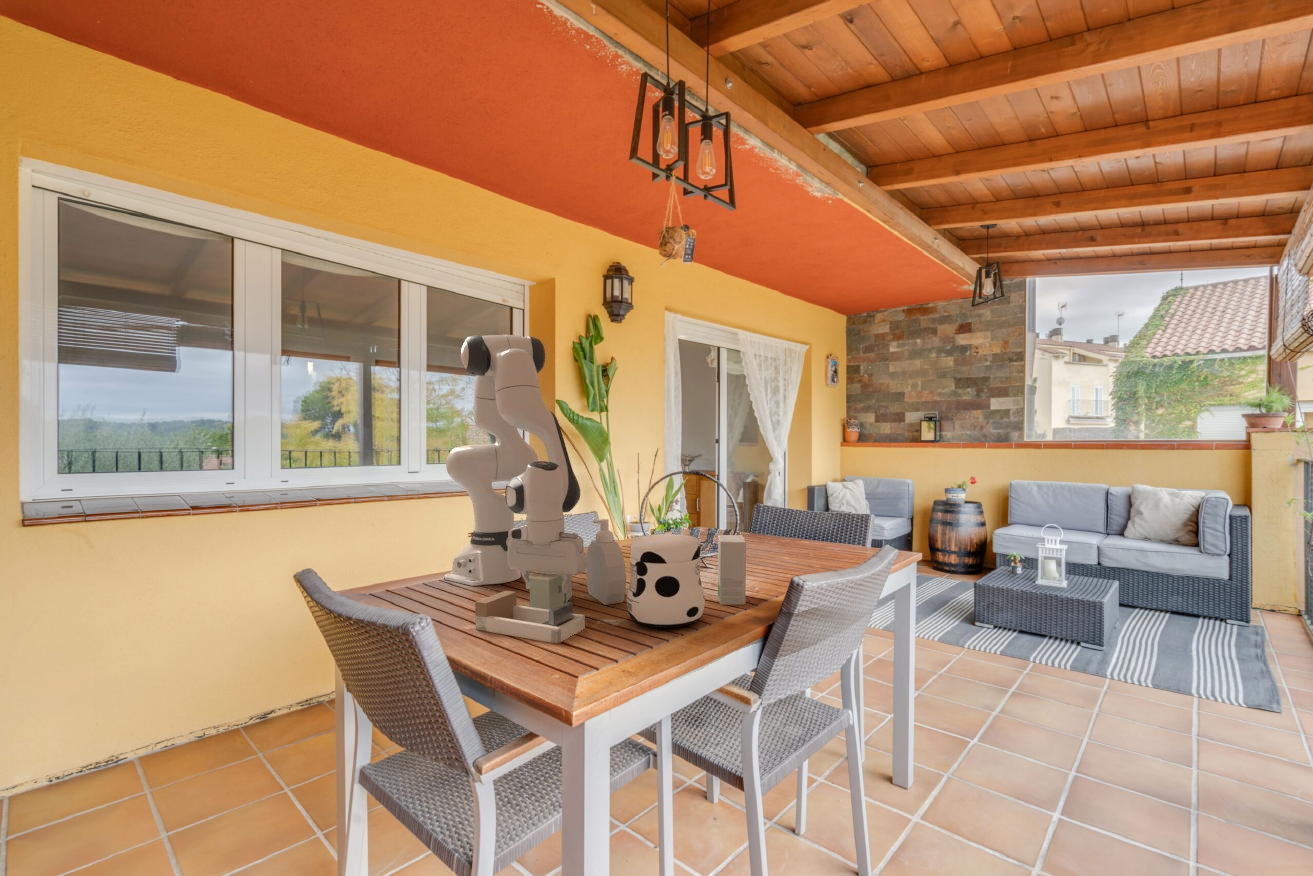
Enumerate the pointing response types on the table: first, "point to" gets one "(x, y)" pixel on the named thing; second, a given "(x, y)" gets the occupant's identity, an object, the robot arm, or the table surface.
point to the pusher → (560, 615)
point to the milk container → (665, 581)
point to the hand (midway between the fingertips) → (546, 590)
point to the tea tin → (545, 590)
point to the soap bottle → (605, 567)
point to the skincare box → (731, 569)
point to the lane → (521, 619)
